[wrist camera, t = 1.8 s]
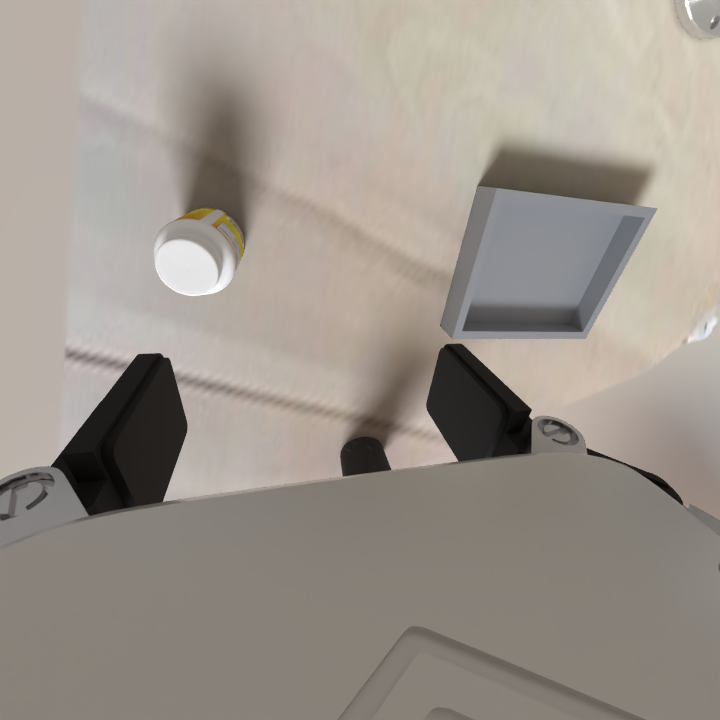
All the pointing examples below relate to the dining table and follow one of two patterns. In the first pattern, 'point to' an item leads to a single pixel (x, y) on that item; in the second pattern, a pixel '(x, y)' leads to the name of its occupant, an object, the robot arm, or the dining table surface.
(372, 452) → the travel mug
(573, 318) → the tray
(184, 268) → the supplement bottle
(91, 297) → the dining table surface
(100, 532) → the robot arm
